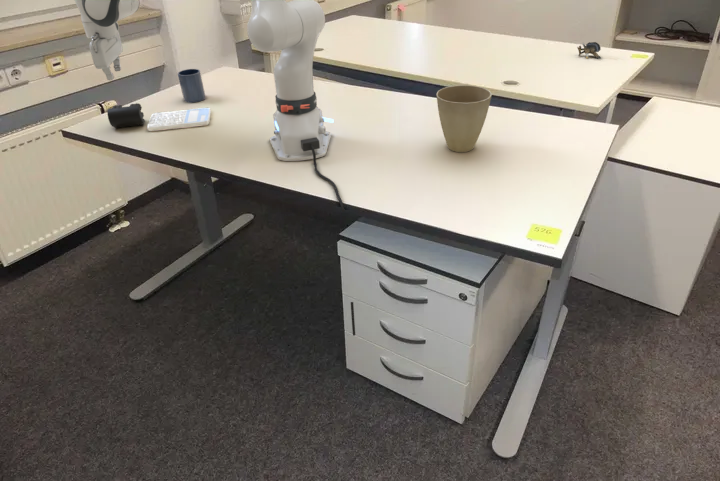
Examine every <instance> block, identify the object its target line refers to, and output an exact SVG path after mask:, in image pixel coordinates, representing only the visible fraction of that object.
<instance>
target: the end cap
mask: <svg viewBox="0 0 720 481" xmlns="http://www.w3.org/2000/svg"><path fill="white" fill-rule="evenodd" d="M142 108H143V107H142V105H141V103H130V105H128V106H123V105H122V104H121V105H120V104H119V105H113V106H112V107H111V108H110V107H109V108H108V109H107V110H106V111H107V119H108V122H109V125H110V126H111V127H113V128H115V129H119V128H128V127H138V126H144V124H145V121H146V120H145V118H144V116H145V115H144V112H143V111H142Z"/></svg>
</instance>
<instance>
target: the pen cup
mask: <svg viewBox="0 0 720 481" xmlns="http://www.w3.org/2000/svg"><path fill="white" fill-rule="evenodd" d="M201 73H202V72H201V70H200V69H198V68H186V69H182V70H180V71H178V72H177V77H178V81H179V86H180V90H181V94H182V97H183V102H185V103H190V104H192V103H193V104H194V103H199V102H202V101H204V100H206V99H207V98H206V91H205V87H204V81H203V77H202V74H201Z"/></svg>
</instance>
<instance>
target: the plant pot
mask: <svg viewBox="0 0 720 481" xmlns="http://www.w3.org/2000/svg"><path fill="white" fill-rule="evenodd" d="M492 94H493V93H492V91H491V90H489V89H487V88H486V87H482V86H477V85H471V84H458V85H450V86H446V87H442V88H441V89H439V90H437V92H436V94H435V95H436V102H437V110H438V116H439V122H440V126H441V130H442V134H443V137H444V141H445V143H446V147H447V148H448V149H449V150H450V151H452V152H456V153H467V152H471V151H472V150H473V149H474V148H475V146H476V143H477V142H478V139H479V137H480V135H481V133H482V130H483V128H484V125H485V122H486V118H487V116H488V112H489V108H490V104H491V99H492Z"/></svg>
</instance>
